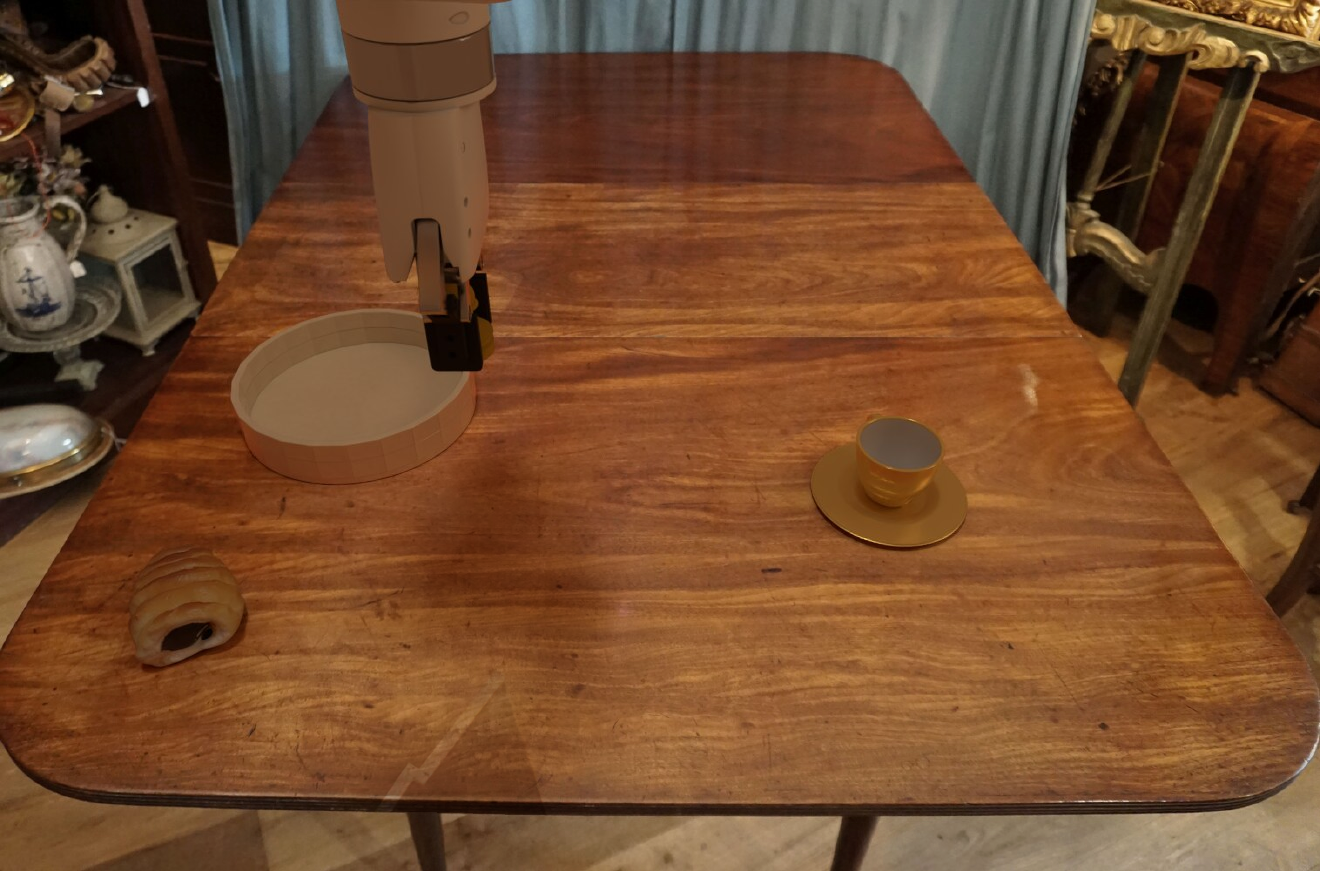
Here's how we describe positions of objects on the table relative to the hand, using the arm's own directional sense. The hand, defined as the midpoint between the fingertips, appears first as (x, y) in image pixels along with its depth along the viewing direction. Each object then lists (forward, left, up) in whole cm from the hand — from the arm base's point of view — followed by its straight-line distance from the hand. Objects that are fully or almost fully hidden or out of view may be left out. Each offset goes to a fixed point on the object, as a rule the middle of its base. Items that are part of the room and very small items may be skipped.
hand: (462, 345), depth 61 cm
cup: (+17, -26, -16) cm, 35 cm away
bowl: (+6, +17, -15) cm, 24 cm away
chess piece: (0, 0, 0) cm, 1 cm away
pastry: (-18, +12, -16) cm, 26 cm away
